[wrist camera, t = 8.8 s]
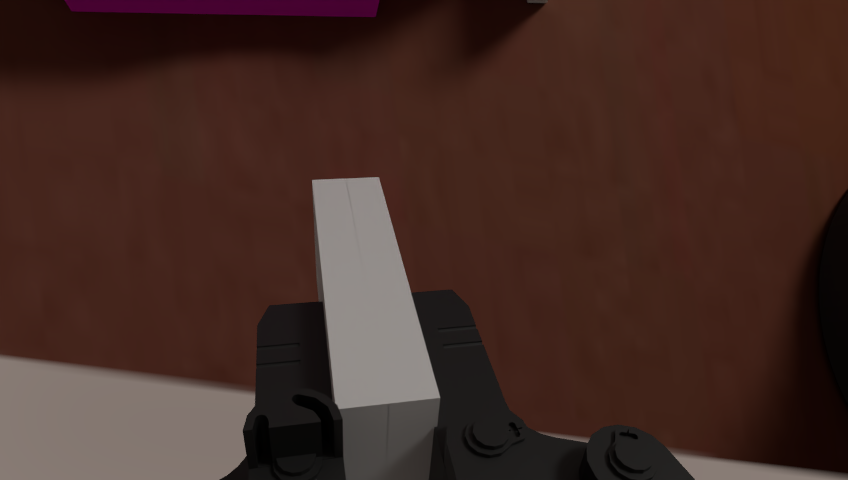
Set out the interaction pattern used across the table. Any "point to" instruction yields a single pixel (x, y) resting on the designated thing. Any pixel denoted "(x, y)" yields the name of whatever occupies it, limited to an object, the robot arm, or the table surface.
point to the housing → (537, 1)
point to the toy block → (233, 7)
